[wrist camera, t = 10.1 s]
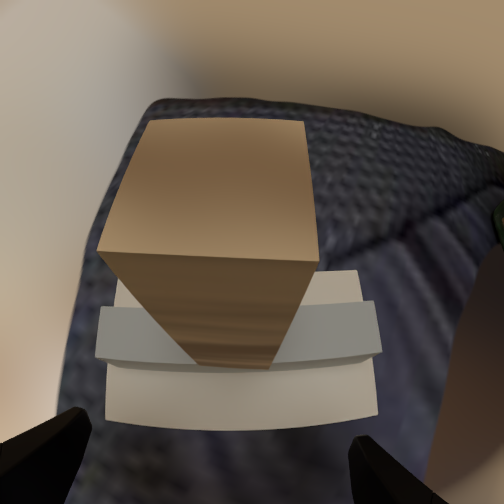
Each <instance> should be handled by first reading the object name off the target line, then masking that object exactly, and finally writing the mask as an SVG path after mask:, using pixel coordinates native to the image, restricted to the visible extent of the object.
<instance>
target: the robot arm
mask: <svg viewBox="0 0 504 504" xmlns="http://www.w3.org/2000/svg"><path fill="white" fill-rule="evenodd" d="M91 431H92V424H91V422H90V419H89V417H88V414H87V411H86V410H85V409H82V408H79V407H73V408H71V409H69V410H67V411H65V412H63V413H61V414H59V415H57V416H55V417H54V418H52V419H50V420H48V421H46V422H44V423H42V424H40V425H38V426H36V427H34V428H32V429H30V430H28V431H26V432H24V433H22V434H19V435H17V436H15V437H13V438H11V439H9V440H7V441H5V442H3V443H0V504H64V502H65V500H66V497H67V495H68V493H69V490H70V488H71V486H72V483H73V481H74V479H75V476H76V474H77V472H78V469H79V467H80V465H81V462H82V459H83V456H84V453H85V450H86V447H87V443H88V440H89V437H90V434H91ZM348 459H349V468H350V479H351V489H352V495H353V500H354V504H449V503H447V502H446V501H444V500H443V499H442V498H441V497H439V496H438V495H437V494H436V493H433V491H432V490H430V489H429V488H428V487H427V486H426V485H425V484H423V483H422V482H421V481H420V480H419V479H417V478H416V477H415V476H414V475H413V474H412V473H410V472H409V471H408V470H407V469H406V468H405V467H403V466H402V465H401V464H400V463H399V462H398V461H397V460H395V459H394V458H393V457H392V456H391V455H390V454H389V453H387V452H386V451H385V450H384V449H383V448H382V447H381V446H380V445H378V444H377V443H376V442H375V441H374V440H373V439H372V438H371V437H370V436H368V435H357V436H355V437H354V439H353V442H352V444H351V446H350V449H349V452H348Z"/></svg>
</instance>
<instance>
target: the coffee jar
mask: <svg viewBox="0 0 504 504" xmlns="http://www.w3.org/2000/svg"><path fill="white" fill-rule="evenodd" d="M493 220H494V224H495V227H496V230H497V234H498V237H499V240H500V243H501V245H502V248H503V251H504V200H503V201H502V202H501V203H500V204H499V205H498V206H497V207H496V209H495V210H494V214H493Z"/></svg>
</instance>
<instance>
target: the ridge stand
mask: <svg viewBox="0 0 504 504" xmlns="http://www.w3.org/2000/svg"><path fill="white" fill-rule="evenodd" d="M381 352H382V347H381V341H380V334H379V328H378V322H377V317H376V311H375V306H374V301H363V298H362V293H361V288H360V283H359V278H358V273H357V270H350V271H325V272H314V275H313V277H312V279H311V281H310V284H309V286H308V288H307V290H306V293H305V295H304V297H303V299H302V301H301V304H300V306H299V308H298V310H297V312H296V314H295V317H294V319H293V321H292V323H291V325H290V327H289V329H288V331H287V333H286V336H285V338H284V340H283V342H282V344H281V346H280V348H279V350H278V352H277V354H276V356H275V358H274V360H273V362H272V364H271V366H270V368H269V370H262V369H239V368H223V367H210V366H199V365H198V364H197V363H196V362H195V361H194V360H193V359H192V358H191V357H190V356H189V355H188V354H187V353H186V352H185V351H184V350H183V349H182V348H181V347H180V346H179V345H178V344H177V343H176V342H175V341H174V340H173V339H172V338H171V337H170V336H169V335H168V334H167V333H166V332H165V331H164V329H163V328H162V327H161V326H160V325H159V324H158V323H157V322H156V321H155V320H154V319H153V318H152V317H151V315H150V314H149V313H148V312H147V311H146V310H145V309H144V308H143V306H142V305H141V304H140V303H139V302H138V301H137V300H136V299H135V297H134V296H133V295H132V294H131V293H130V292H129V290H128V289H127V288H126V287H125V286H124V284H123V283H122V282H121V281H120V280H119V278H118V283H117V289H116V295H115V302H114V307H104V306H101V311H100V318H99V326H98V334H97V343H96V352H95V357H96V358H98V359H100V360H102V361H104V362H107V363H108V367H107V382H106V408H105V420H110V421H116V422H122V423H129V424H136V425H144V426H152V427H162V428H174V429H189V430H219V431H238V430H268V429H283V428H295V427H305V426H314V425H322V424H329V423H336V422H342V421H348V420H354V419H359V418H365V417H370V416H375V415H378V409H377V398H376V388H375V378H374V370H373V362H372V357H373V356H375V355H377V354H379V353H381Z"/></svg>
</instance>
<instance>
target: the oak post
mask: <svg viewBox="0 0 504 504" xmlns="http://www.w3.org/2000/svg"><path fill="white" fill-rule="evenodd" d="M97 252H98V253H99V255H100V256H101V257H102V259H103V260H104V261H105V262H106V264H107V265H108V266H109V267H110V269H111V270H112V271H113V272H114V274H115V275H116V276H117V277H118V278H119V280H120V281H121V282H122V283H123V284H124V286H125V287H126V288H127V289H128V290H129V292H130V293H131V294H132V295H133V296H134V297H135V299H136V300H137V301H138V302H139V303H140V304H141V305H142V306H143V308H144V309H145V310H146V311H147V312H148V313H149V314H150V315H151V317H152V318H153V319H154V320H155V321H156V322H157V323H158V324H159V325H160V326H161V327H162V328H163V329H164V331H165V332H166V333H167V334H168V335H169V336H170V337H171V338H172V339H173V340H174V341H175V342H176V343H177V344H178V345H179V346H180V347H181V348H182V349H183V350H184V351H185V352H186V353H187V354H188V355H189V356H190V357H191V358H192V359H193V360H194V361H195V362H196V363H197V364H198V365H199V366H210V367H223V368H239V369H262V370H269V368H270V366H271V364H272V362H273V360H274V358H275V356H276V354H277V352H278V350H279V348H280V346H281V344H282V342H283V340H284V338H285V336H286V333H287V331H288V329H289V327H290V325H291V323H292V321H293V319H294V317H295V314H296V312H297V310H298V308H299V306H300V304H301V301H302V299H303V297H304V295H305V293H306V290H307V288H308V286H309V284H310V281H311V279H312V277H313V275H314V272H315V270H316V268H317V265H318V263H319V251H318V239H317V228H316V218H315V208H314V198H313V189H312V181H311V172H310V165H309V157H308V149H307V142H306V135H305V128H304V122H303V121H291V120H276V119H255V118H186V119H166V120H151V121H149V123H148V125H147V127H146V129H145V131H144V133H143V135H142V137H141V139H140V142H139V144H138V146H137V148H136V150H135V152H134V154H133V157H132V159H131V161H130V163H129V166H128V168H127V170H126V173H125V175H124V177H123V180H122V182H121V185H120V187H119V190H118V192H117V195H116V197H115V200H114V202H113V205H112V208H111V210H110V213H109V216H108V219H107V221H106V224H105V227H104V230H103V233H102V236H101V239H100V242H99V245H98V248H97Z"/></svg>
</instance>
